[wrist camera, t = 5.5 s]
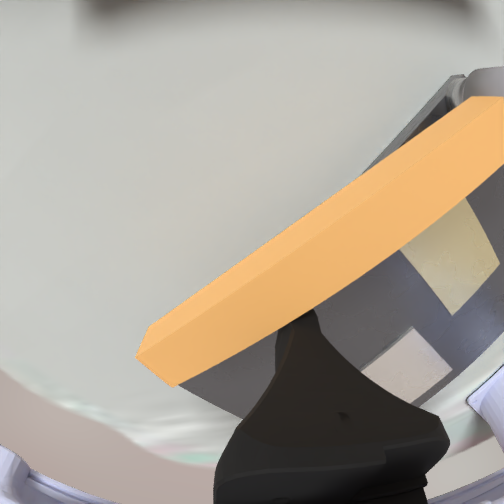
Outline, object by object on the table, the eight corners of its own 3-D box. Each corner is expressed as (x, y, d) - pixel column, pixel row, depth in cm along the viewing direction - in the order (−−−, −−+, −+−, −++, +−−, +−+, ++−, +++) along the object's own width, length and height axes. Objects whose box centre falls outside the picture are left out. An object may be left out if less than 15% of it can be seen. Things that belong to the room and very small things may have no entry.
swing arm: (491, 58, 7) (538, 54, 4) (519, 123, 8) (565, 132, 5) (141, 309, 11) (117, 355, 9) (192, 356, 12) (181, 406, 10)
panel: (544, 264, 14) (564, 279, 11) (336, 446, 20) (340, 470, 18) (450, 70, 10) (481, 65, 8) (167, 364, 16) (158, 395, 14)
